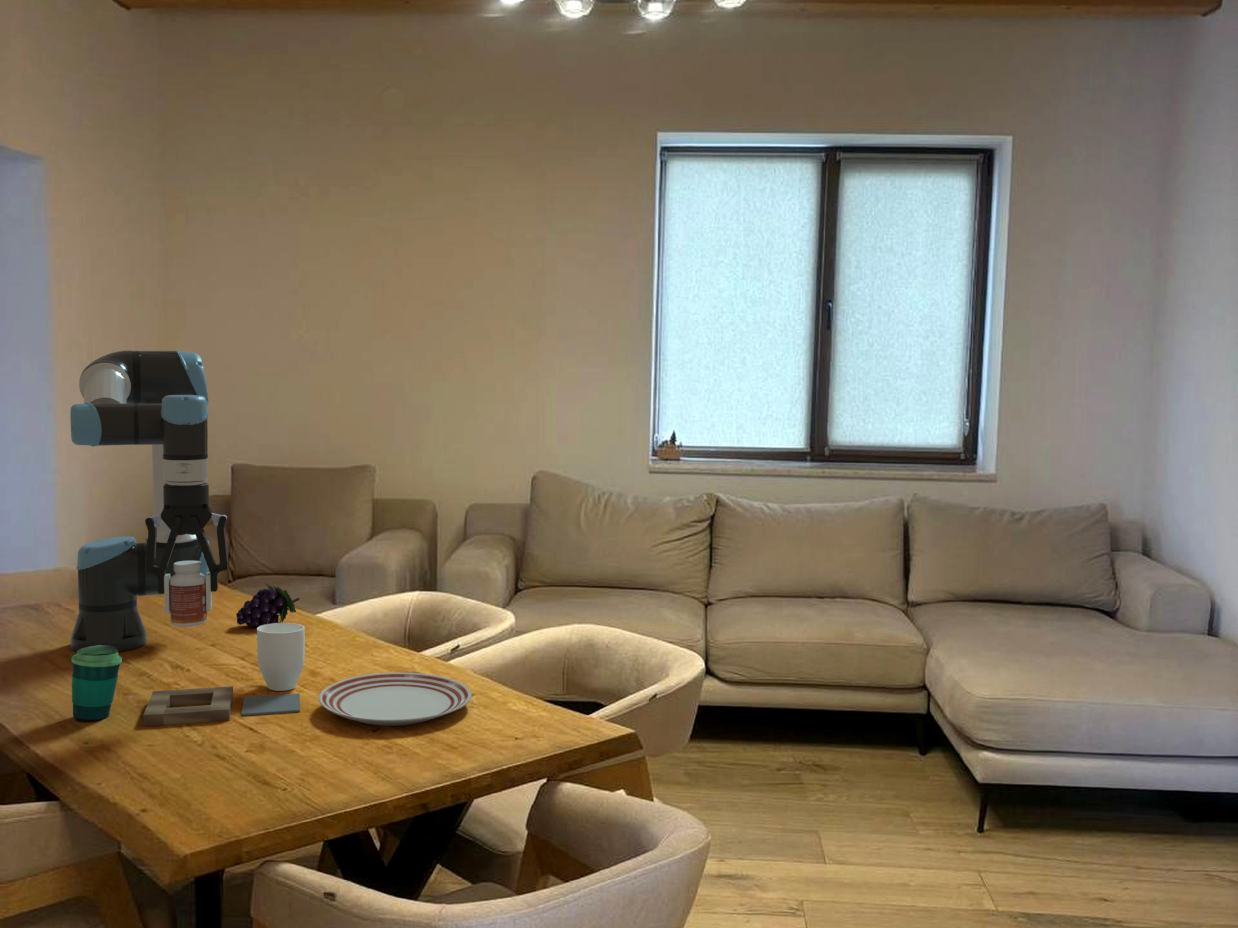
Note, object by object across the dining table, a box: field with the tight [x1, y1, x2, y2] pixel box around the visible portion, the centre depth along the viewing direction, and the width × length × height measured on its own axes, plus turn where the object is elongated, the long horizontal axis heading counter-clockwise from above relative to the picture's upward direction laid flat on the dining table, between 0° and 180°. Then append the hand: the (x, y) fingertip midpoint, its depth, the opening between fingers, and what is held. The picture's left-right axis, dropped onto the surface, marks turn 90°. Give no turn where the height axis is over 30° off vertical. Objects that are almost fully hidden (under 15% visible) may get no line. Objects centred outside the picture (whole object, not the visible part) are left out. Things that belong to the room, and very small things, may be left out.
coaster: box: [241, 693, 301, 717], centre depth 204 cm, size 10×10×1 cm
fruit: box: [235, 583, 301, 628], centre depth 262 cm, size 10×11×15 cm
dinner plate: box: [318, 671, 472, 727], centre depth 203 cm, size 28×27×3 cm
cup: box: [70, 645, 123, 723], centre depth 196 cm, size 8×8×12 cm
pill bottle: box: [169, 561, 208, 628], centre depth 198 cm, size 6×6×11 cm
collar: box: [142, 685, 234, 727], centre depth 200 cm, size 14×14×2 cm
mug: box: [256, 622, 306, 692], centre depth 215 cm, size 12×9×12 cm
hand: (188, 609), depth 198 cm, fingers closed on pill bottle, 6 cm apart
